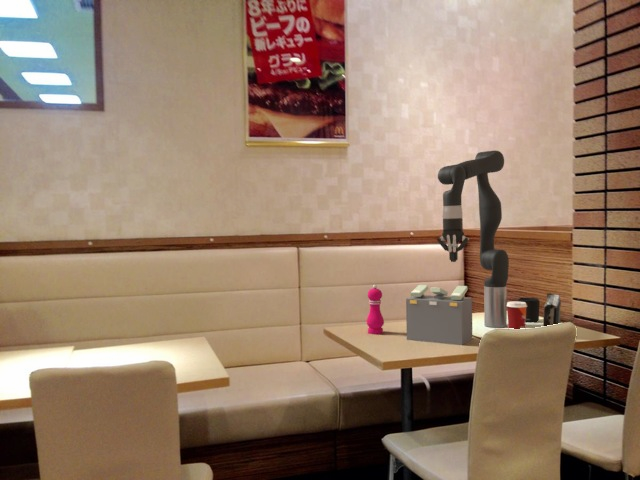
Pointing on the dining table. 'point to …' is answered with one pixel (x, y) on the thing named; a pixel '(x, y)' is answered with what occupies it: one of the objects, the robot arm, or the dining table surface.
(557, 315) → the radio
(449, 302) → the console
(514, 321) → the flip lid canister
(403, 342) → the dining table surface
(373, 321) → the pepper mill
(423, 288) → the block
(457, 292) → the rocker
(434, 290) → the block
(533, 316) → the pen holder
